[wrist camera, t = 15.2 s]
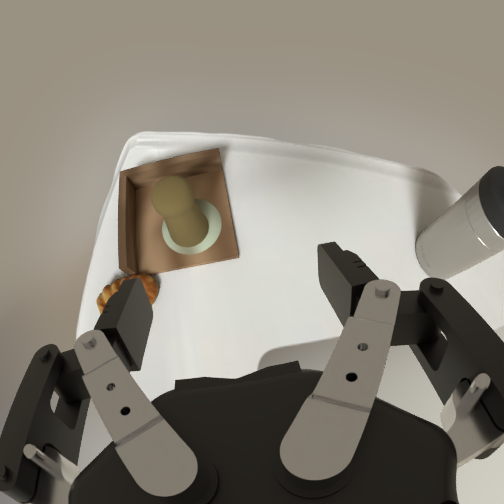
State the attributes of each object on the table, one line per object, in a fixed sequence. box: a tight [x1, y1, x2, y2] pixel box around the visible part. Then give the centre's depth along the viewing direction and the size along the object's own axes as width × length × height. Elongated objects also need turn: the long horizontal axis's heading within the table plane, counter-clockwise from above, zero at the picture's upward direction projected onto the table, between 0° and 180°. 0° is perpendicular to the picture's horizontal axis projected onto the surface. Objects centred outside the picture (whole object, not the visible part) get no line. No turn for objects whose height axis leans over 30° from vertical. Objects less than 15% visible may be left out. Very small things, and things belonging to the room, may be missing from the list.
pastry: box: [97, 274, 159, 314], centre depth 37 cm, size 9×7×4 cm
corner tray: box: [118, 148, 239, 276], centre depth 40 cm, size 16×16×5 cm
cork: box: [151, 175, 209, 248], centre depth 36 cm, size 6×6×11 cm
